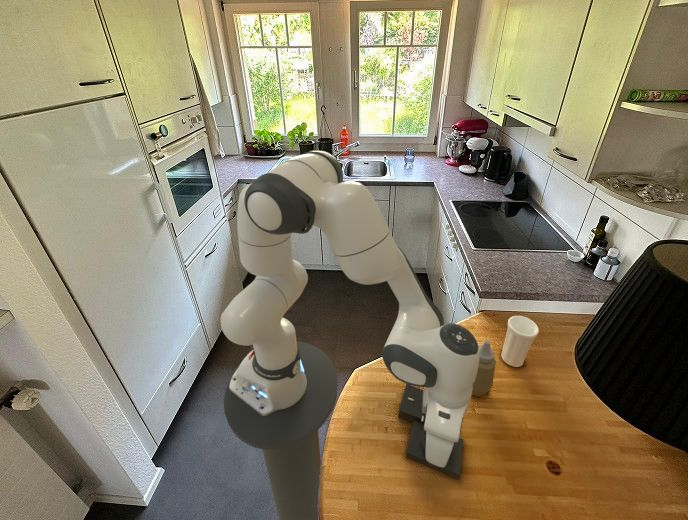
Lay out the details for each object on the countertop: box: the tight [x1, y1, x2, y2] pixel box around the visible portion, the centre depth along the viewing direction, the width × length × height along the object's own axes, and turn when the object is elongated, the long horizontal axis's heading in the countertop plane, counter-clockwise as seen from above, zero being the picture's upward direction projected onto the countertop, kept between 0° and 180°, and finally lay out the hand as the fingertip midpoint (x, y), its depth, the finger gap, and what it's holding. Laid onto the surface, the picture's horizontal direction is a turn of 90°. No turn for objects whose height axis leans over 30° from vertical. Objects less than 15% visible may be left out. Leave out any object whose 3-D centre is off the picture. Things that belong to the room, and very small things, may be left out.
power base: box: [405, 420, 464, 481], centre depth 76 cm, size 12×8×4 cm, turn 68°
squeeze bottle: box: [472, 339, 497, 397], centre depth 87 cm, size 8×8×18 cm
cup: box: [500, 315, 540, 368], centre depth 96 cm, size 8×8×14 cm
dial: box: [422, 387, 426, 414], centre depth 83 cm, size 5×2×3 cm, turn 168°
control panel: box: [398, 383, 426, 424], centre depth 84 cm, size 12×9×3 cm
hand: (439, 430), depth 73 cm, fingers closed
